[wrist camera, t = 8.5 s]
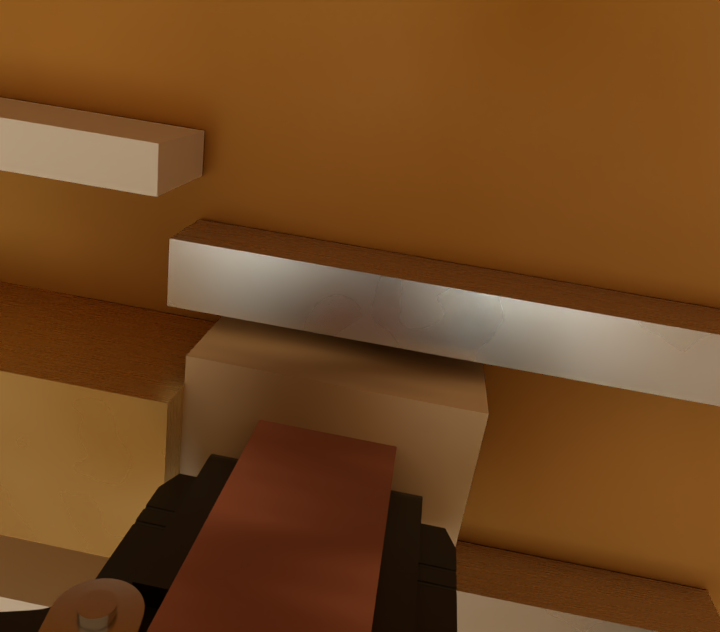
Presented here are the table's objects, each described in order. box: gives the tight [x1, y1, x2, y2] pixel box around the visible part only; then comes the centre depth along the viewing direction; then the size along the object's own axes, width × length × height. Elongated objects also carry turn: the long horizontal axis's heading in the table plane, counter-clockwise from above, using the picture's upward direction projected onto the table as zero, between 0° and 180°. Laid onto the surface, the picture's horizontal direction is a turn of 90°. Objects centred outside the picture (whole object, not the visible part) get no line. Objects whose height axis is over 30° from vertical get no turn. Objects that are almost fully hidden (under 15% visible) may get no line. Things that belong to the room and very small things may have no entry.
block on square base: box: [147, 316, 489, 632], centre depth 12 cm, size 6×5×8 cm
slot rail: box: [167, 219, 720, 632], centre depth 16 cm, size 14×9×2 cm, turn 82°
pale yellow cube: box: [0, 296, 216, 558], centre depth 15 cm, size 4×4×4 cm
